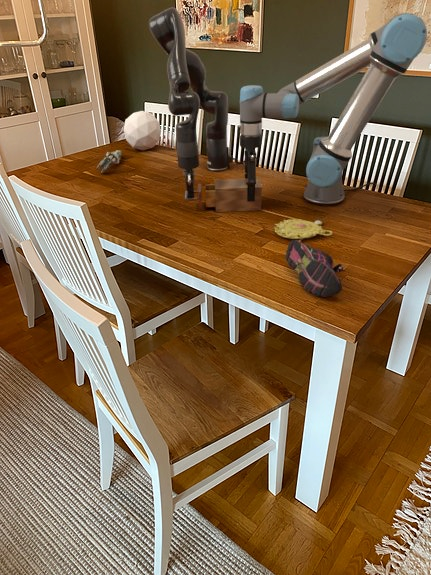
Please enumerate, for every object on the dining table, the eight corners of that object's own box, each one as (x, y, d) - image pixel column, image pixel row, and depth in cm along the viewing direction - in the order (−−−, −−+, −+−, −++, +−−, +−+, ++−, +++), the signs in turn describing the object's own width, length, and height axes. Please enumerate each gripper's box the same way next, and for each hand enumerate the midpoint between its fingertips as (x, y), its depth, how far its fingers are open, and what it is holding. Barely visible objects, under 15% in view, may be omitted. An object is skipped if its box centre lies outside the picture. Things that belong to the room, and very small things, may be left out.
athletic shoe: (328, 286, 106) (368, 278, 110) (289, 224, 118) (325, 219, 122) (312, 314, 115) (349, 305, 119) (276, 254, 127) (311, 248, 131)
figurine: (101, 154, 197) (119, 141, 223) (91, 167, 200) (110, 152, 227) (114, 165, 199) (130, 151, 225) (103, 178, 203) (121, 162, 229)
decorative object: (286, 211, 157) (342, 219, 147) (286, 217, 158) (341, 226, 148) (260, 233, 142) (319, 243, 133) (260, 240, 144) (319, 251, 134)
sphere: (136, 161, 242) (117, 128, 240) (167, 143, 245) (148, 111, 242) (135, 152, 224) (114, 116, 221) (169, 133, 226) (148, 97, 223)
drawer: (185, 210, 163) (183, 192, 159) (185, 200, 170) (184, 183, 167) (240, 207, 163) (240, 190, 159) (238, 198, 171) (238, 181, 167)
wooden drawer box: (215, 212, 163) (215, 188, 158) (215, 201, 172) (214, 179, 167) (261, 210, 163) (261, 187, 158) (258, 200, 172) (258, 177, 167)
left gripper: (177, 148, 162) (181, 193, 171) (176, 159, 150) (180, 207, 160) (198, 147, 162) (201, 192, 171) (198, 158, 150) (201, 205, 160)
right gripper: (237, 127, 163) (237, 185, 175) (242, 143, 144) (242, 207, 156) (257, 126, 163) (256, 184, 175) (265, 142, 144) (263, 206, 156)
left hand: (191, 199), depth 165 cm, fingers closed
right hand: (249, 195), depth 165 cm, fingers closed on wooden drawer box, 10 cm apart
